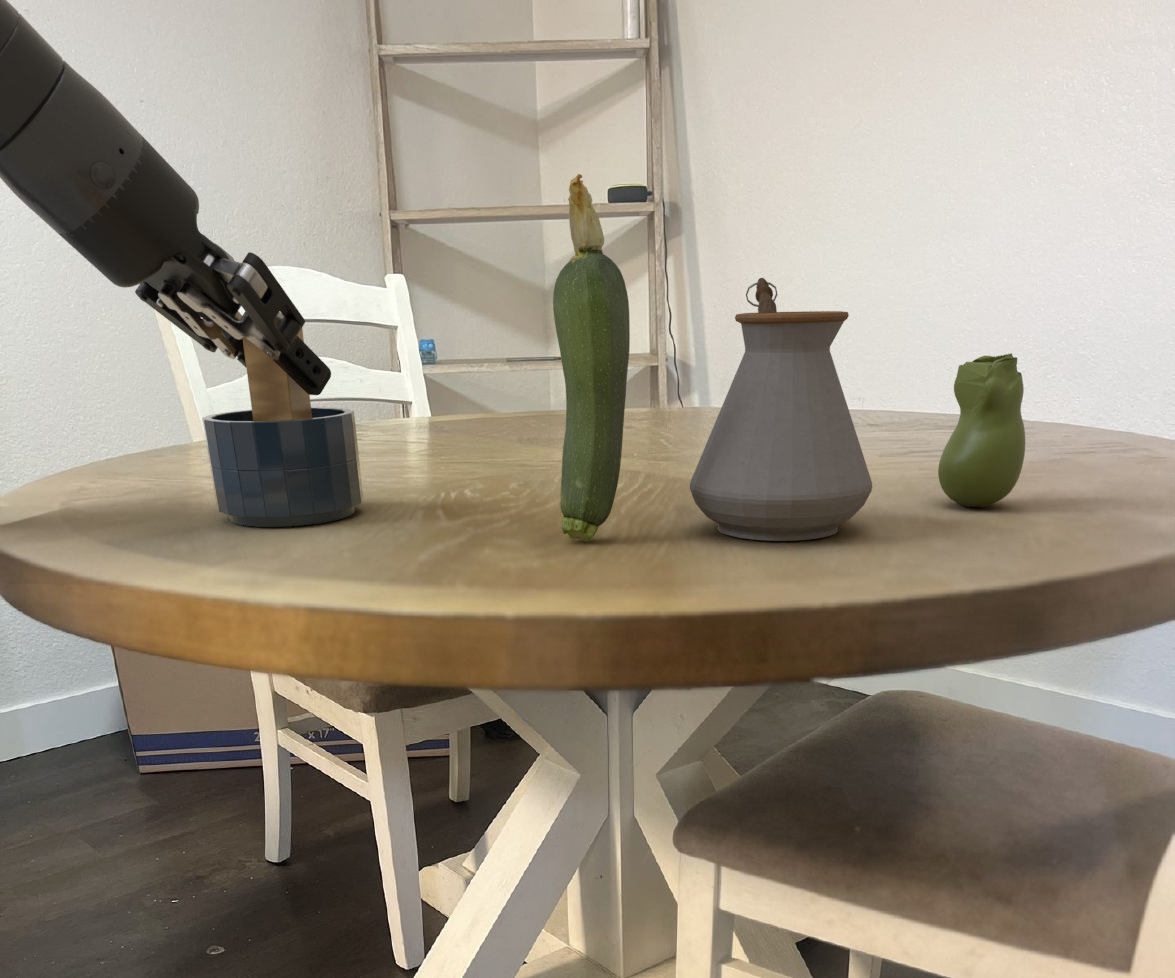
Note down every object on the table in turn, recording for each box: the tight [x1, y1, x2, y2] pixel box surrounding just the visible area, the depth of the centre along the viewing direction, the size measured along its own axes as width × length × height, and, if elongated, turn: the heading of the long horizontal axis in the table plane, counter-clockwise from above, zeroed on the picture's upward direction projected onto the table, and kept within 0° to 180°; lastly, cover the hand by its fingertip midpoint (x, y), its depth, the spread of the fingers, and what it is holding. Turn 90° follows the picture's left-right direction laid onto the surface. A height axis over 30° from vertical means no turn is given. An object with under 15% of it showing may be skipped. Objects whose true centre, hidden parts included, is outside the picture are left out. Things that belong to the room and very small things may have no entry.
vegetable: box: [552, 173, 631, 543], centre depth 61 cm, size 4×4×20 cm
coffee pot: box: [689, 277, 873, 542], centre depth 69 cm, size 21×12×15 cm, turn 178°
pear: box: [937, 352, 1026, 508], centre depth 71 cm, size 6×5×10 cm
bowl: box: [201, 406, 364, 528], centre depth 74 cm, size 10×10×7 cm
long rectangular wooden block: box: [243, 324, 312, 421], centre depth 73 cm, size 3×3×12 cm
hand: (303, 383), depth 74 cm, fingers closed on long rectangular wooden block, 4 cm apart
